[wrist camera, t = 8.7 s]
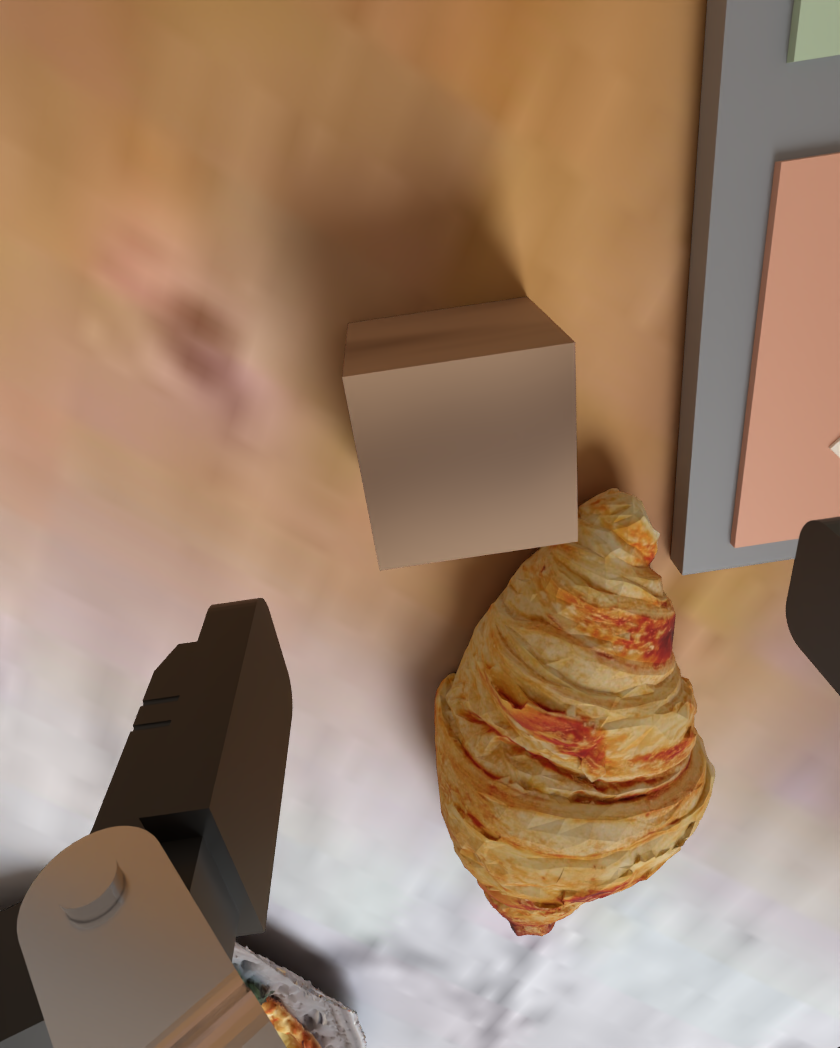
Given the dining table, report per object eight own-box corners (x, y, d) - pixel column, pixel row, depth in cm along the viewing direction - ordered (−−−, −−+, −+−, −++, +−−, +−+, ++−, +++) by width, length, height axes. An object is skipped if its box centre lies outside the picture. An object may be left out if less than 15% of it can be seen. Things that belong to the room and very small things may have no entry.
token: (534, 459, 21) (578, 541, 17) (377, 482, 21) (379, 570, 17) (526, 295, 19) (575, 342, 14) (347, 322, 19) (341, 376, 14)
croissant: (496, 429, 24) (400, 520, 18) (804, 486, 21) (826, 625, 14) (458, 820, 34) (388, 970, 28) (661, 903, 31) (635, 1096, 24)
